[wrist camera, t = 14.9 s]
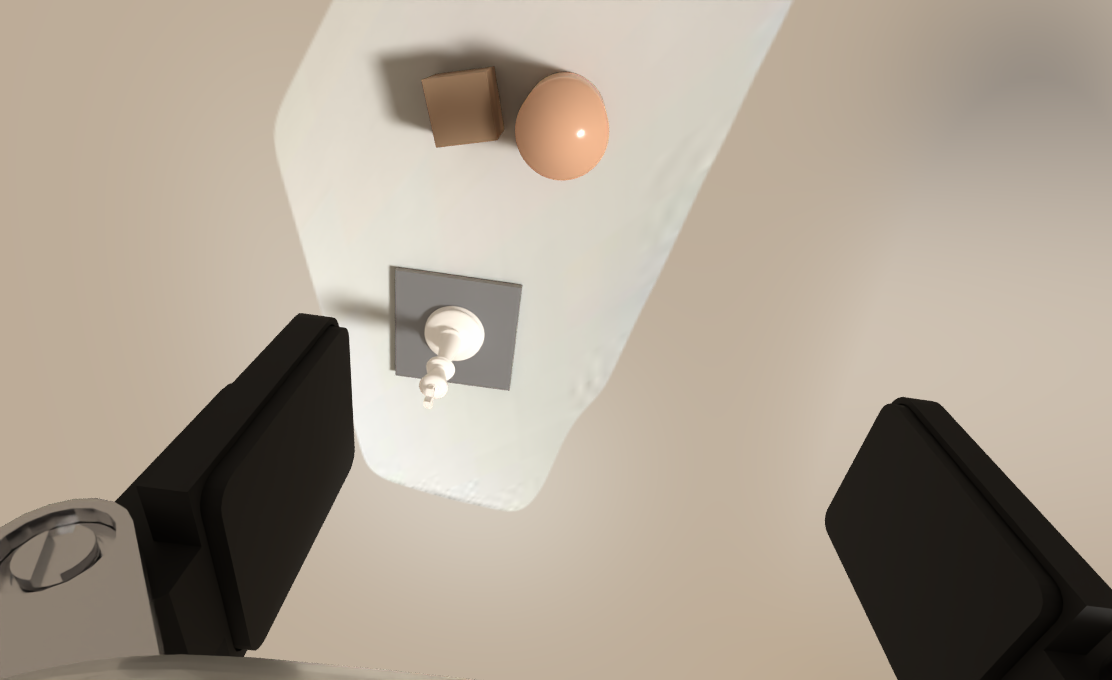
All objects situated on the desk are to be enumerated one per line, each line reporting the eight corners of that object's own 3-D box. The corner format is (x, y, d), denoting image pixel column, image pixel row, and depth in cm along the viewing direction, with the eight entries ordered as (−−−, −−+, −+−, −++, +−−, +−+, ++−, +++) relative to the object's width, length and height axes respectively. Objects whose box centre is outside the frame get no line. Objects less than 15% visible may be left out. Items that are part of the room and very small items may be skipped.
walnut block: (435, 74, 38) (421, 79, 34) (494, 66, 37) (485, 71, 34) (448, 136, 40) (436, 147, 36) (504, 129, 39) (497, 140, 36)
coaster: (397, 267, 45) (395, 270, 44) (522, 285, 45) (521, 288, 45) (397, 371, 50) (395, 375, 49) (509, 386, 50) (509, 390, 50)
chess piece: (424, 352, 48) (390, 426, 39) (426, 301, 46) (390, 368, 37) (481, 361, 48) (460, 437, 40) (487, 310, 46) (465, 379, 37)
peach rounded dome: (531, 64, 37) (523, 72, 32) (614, 81, 38) (619, 92, 32) (518, 150, 40) (508, 170, 35) (595, 165, 40) (597, 188, 35)
